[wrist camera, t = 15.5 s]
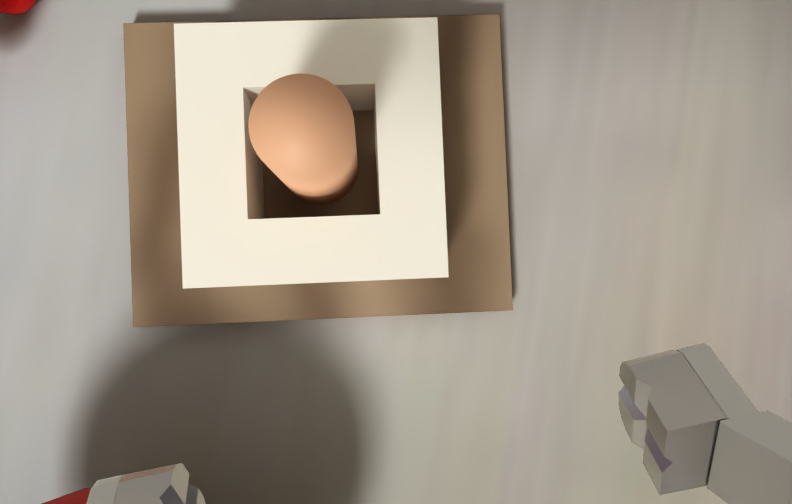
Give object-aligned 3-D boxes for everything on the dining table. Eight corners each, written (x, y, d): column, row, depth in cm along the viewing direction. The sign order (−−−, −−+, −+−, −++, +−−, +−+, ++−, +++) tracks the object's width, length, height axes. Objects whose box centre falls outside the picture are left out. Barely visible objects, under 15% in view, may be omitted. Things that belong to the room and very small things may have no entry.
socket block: (427, 52, 35) (437, 17, 30) (436, 275, 35) (448, 277, 30) (201, 59, 35) (173, 23, 30) (209, 285, 34) (182, 288, 29)
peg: (356, 128, 35) (352, 71, 25) (359, 203, 35) (356, 176, 25) (281, 130, 35) (246, 75, 25) (283, 205, 35) (250, 180, 25)
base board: (495, 21, 36) (499, 14, 35) (508, 309, 36) (512, 310, 35) (130, 30, 35) (123, 23, 34) (139, 325, 35) (133, 327, 34)
